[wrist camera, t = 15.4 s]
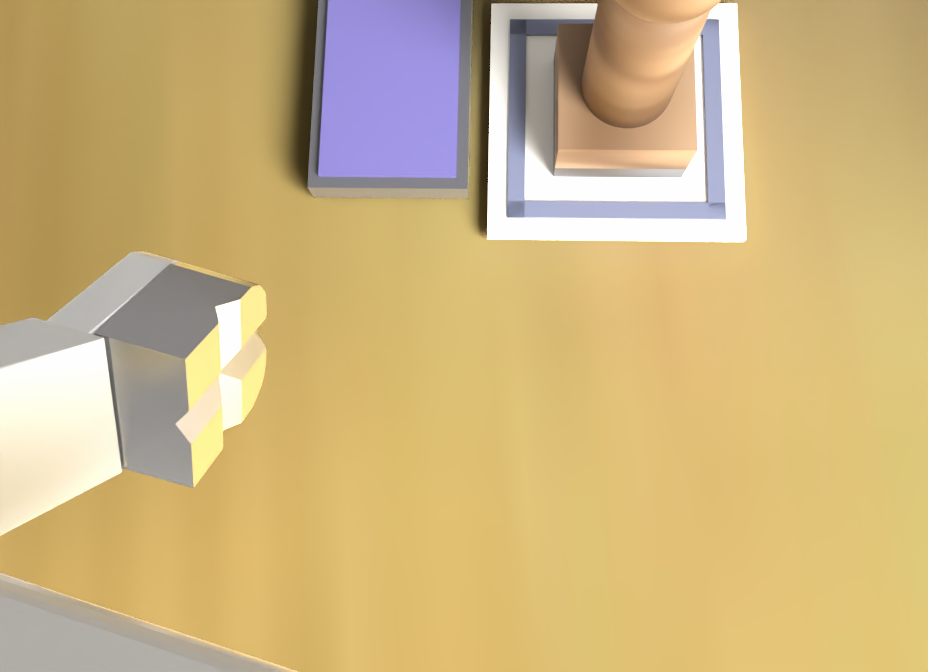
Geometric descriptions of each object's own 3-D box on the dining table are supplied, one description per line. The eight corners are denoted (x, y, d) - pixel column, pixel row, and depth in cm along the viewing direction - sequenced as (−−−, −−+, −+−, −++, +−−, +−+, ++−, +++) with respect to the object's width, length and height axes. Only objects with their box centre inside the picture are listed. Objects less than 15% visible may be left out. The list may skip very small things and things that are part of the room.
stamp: (678, 60, 30) (786, -194, 19) (681, 177, 29) (795, -15, 18) (553, 59, 30) (587, -193, 19) (553, 176, 30) (589, -15, 18)
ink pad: (473, -5, 31) (472, -24, 30) (468, 198, 30) (467, 186, 29) (325, -4, 32) (318, -24, 30) (313, 197, 30) (306, 185, 29)
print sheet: (734, 7, 31) (737, 1, 30) (743, 242, 29) (747, 238, 29) (491, 8, 31) (491, 1, 31) (487, 239, 30) (487, 235, 29)
